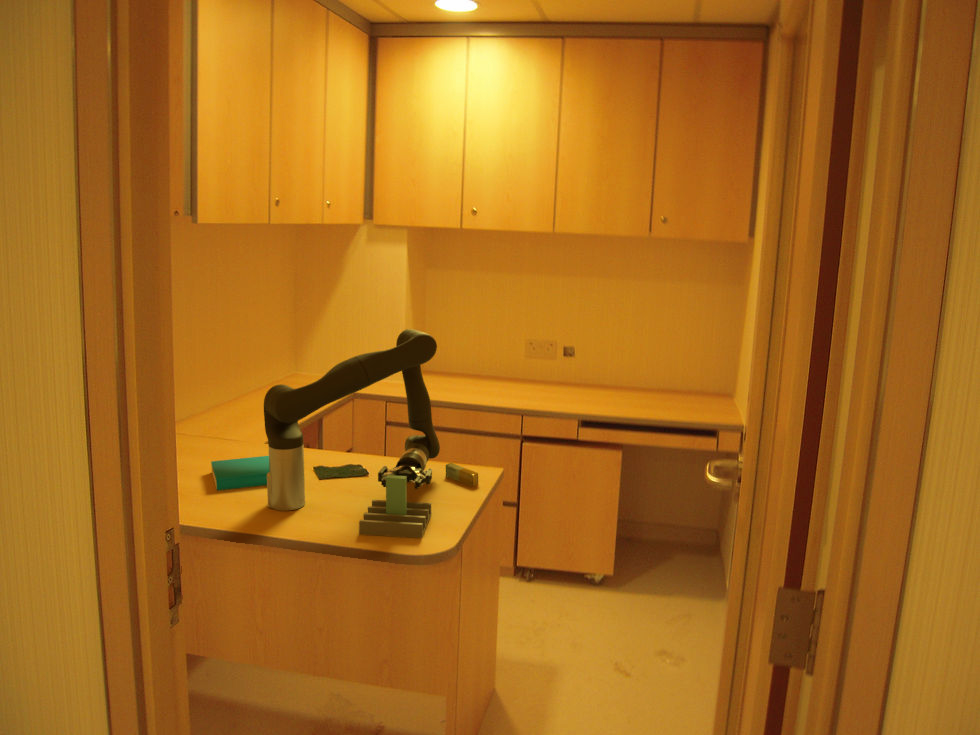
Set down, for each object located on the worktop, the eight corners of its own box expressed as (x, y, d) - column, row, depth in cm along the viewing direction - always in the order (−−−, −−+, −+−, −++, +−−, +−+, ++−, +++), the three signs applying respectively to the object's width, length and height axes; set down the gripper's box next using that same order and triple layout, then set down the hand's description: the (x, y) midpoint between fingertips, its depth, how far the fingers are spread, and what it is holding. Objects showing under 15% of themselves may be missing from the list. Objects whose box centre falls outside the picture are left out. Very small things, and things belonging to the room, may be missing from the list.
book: (210, 461, 250) (293, 451, 260) (211, 475, 251) (294, 464, 261) (216, 479, 235) (304, 468, 245) (217, 494, 236) (305, 482, 246)
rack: (359, 534, 209) (359, 521, 208) (372, 511, 224) (372, 499, 223) (421, 538, 208) (421, 524, 207) (431, 515, 222) (431, 502, 222)
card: (386, 521, 215) (385, 477, 212) (387, 518, 217) (387, 475, 214) (405, 522, 215) (405, 478, 212) (406, 519, 216) (406, 476, 214)
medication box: (445, 476, 253) (444, 464, 252) (451, 474, 254) (451, 462, 253) (472, 487, 244) (472, 474, 243) (479, 485, 246) (479, 472, 245)
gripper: (386, 450, 234) (373, 469, 219) (436, 453, 233) (426, 472, 217) (387, 475, 236) (373, 496, 220) (436, 478, 235) (426, 499, 219)
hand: (400, 484), depth 219 cm, fingers open, 8 cm apart
